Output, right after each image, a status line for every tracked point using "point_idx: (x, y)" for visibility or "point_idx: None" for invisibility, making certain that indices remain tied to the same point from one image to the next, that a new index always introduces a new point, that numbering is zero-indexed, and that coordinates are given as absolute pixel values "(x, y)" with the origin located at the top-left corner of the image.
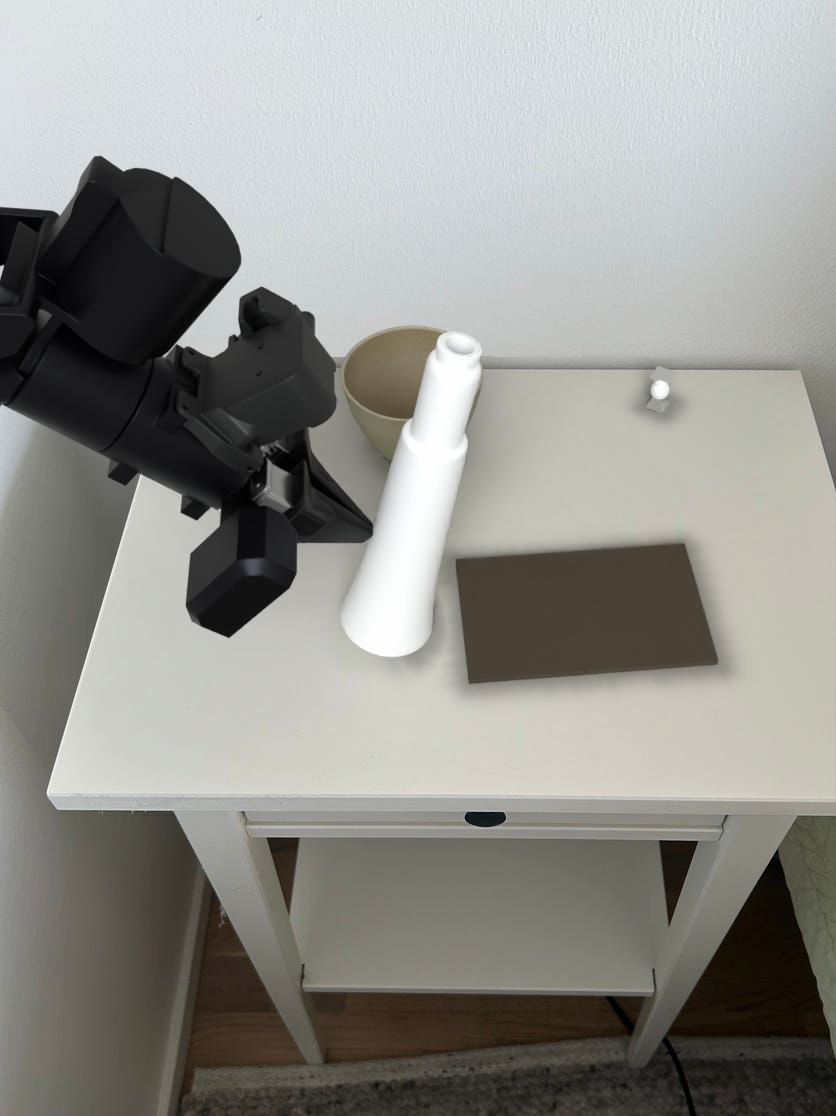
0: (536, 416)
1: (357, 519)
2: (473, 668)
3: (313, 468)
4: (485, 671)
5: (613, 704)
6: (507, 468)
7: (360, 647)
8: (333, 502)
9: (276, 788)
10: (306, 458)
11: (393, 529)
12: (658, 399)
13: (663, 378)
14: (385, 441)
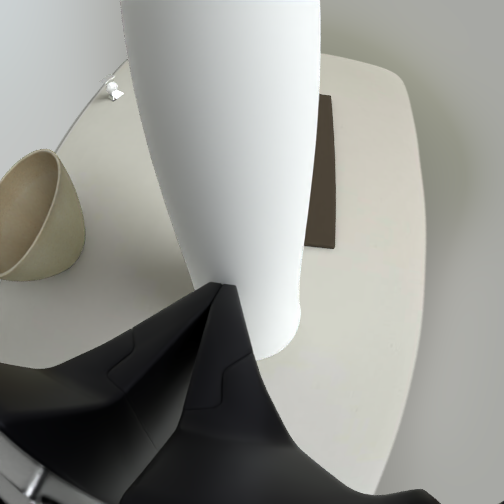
0: (83, 156)
1: (222, 305)
2: (322, 240)
3: (100, 389)
4: (326, 230)
5: (359, 154)
6: (112, 178)
7: (287, 344)
8: (206, 353)
9: (399, 423)
10: (73, 419)
11: (290, 228)
12: (115, 90)
13: (109, 78)
14: (55, 257)
